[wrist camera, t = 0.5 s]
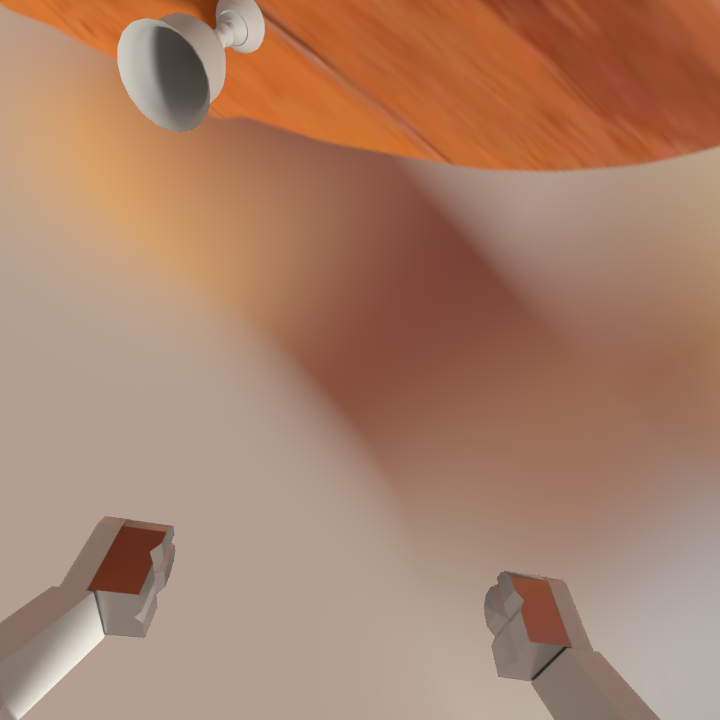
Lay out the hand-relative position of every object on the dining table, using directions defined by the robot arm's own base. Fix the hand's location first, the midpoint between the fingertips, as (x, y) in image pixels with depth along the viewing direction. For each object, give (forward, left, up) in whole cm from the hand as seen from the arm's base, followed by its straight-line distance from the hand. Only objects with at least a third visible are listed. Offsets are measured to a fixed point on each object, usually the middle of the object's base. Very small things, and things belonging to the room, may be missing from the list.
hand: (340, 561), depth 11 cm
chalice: (+14, -11, -49) cm, 53 cm away
